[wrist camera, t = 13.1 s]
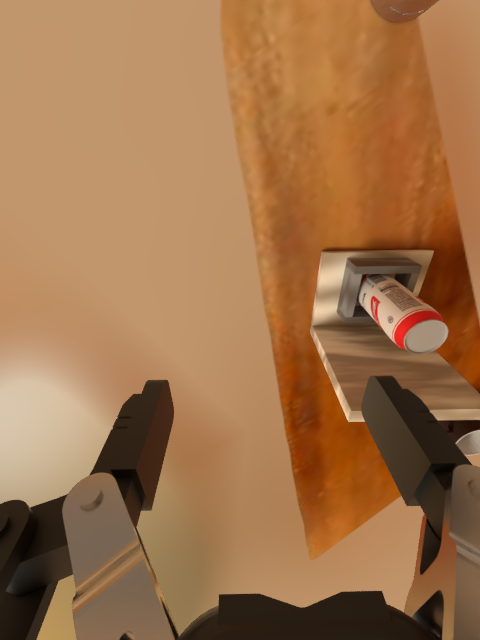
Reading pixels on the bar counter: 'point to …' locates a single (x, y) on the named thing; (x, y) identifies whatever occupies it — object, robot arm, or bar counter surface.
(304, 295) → the bar counter surface
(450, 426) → the coffee mug
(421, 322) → the beer can
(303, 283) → the bar counter surface
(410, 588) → the robot arm
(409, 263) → the can rack
